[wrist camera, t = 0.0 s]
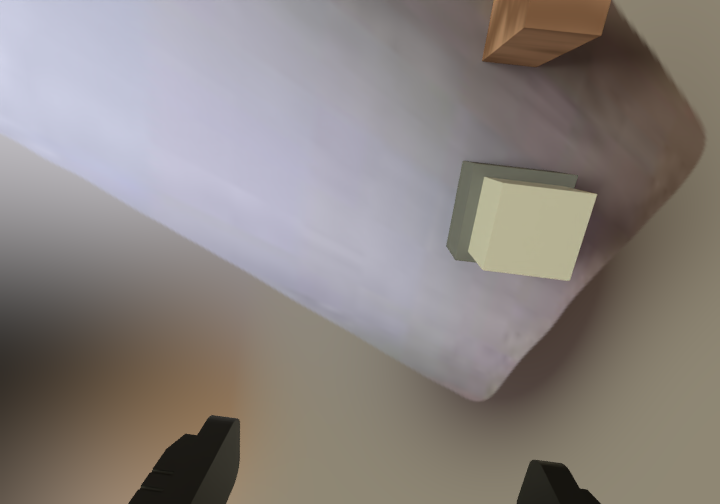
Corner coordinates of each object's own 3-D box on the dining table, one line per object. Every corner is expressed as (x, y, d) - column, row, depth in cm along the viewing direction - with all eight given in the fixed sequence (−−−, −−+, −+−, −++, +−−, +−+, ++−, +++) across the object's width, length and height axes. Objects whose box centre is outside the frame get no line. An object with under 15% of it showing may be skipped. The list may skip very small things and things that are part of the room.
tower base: (462, 160, 35) (474, 163, 31) (551, 171, 35) (578, 175, 30) (445, 245, 38) (455, 259, 33) (528, 255, 38) (549, 271, 33)
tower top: (484, 176, 31) (503, 182, 26) (563, 186, 31) (597, 194, 26) (467, 251, 33) (482, 270, 28) (542, 260, 33) (569, 280, 28)
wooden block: (494, -2, 31) (544, -67, 21) (551, 4, 31) (627, -58, 21) (482, 61, 32) (524, 27, 23) (536, 67, 32) (601, 35, 23)
